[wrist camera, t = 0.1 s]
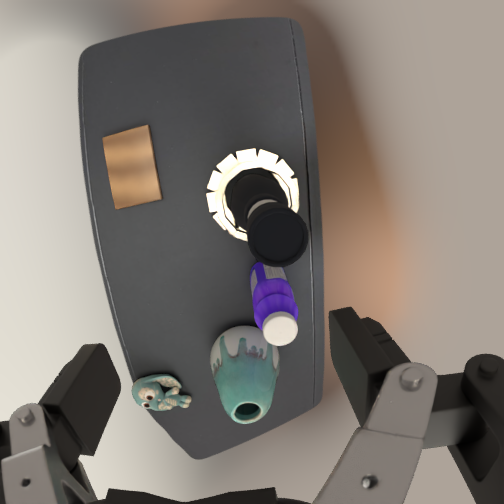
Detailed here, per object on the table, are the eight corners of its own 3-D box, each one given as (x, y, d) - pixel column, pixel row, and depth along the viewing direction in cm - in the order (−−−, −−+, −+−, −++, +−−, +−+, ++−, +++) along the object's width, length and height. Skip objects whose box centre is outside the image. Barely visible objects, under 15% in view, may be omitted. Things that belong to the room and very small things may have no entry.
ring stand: (200, 158, 47) (190, 156, 36) (290, 143, 47) (304, 137, 36) (216, 245, 50) (212, 266, 40) (303, 230, 50) (319, 247, 40)
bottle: (285, 296, 53) (306, 352, 37) (252, 300, 53) (259, 359, 36) (282, 255, 51) (303, 299, 35) (247, 259, 51) (253, 306, 35)
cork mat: (104, 138, 45) (102, 137, 44) (149, 125, 45) (147, 124, 44) (117, 208, 48) (115, 209, 47) (162, 198, 48) (161, 199, 47)
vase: (288, 334, 55) (307, 399, 38) (255, 378, 58) (261, 447, 41) (231, 306, 53) (229, 368, 36) (201, 354, 56) (190, 423, 39)
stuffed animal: (183, 432, 55) (125, 420, 51) (181, 408, 61) (127, 395, 57) (200, 399, 52) (136, 384, 48) (197, 374, 59) (138, 359, 55)
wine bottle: (262, 221, 50) (299, 301, 21) (225, 204, 49) (210, 263, 20) (280, 184, 48) (345, 214, 19) (243, 166, 47) (254, 169, 18)
